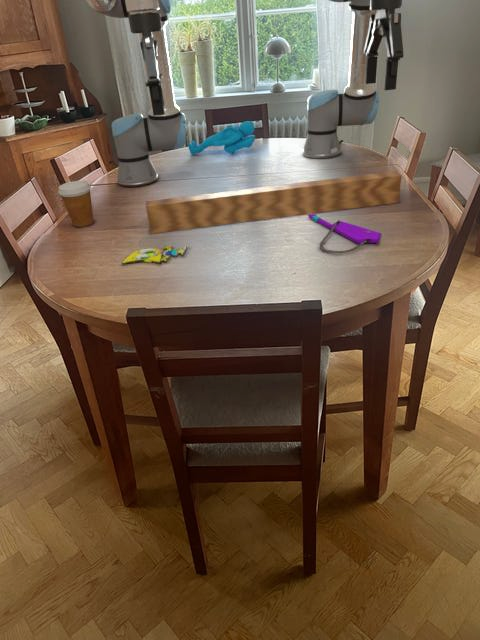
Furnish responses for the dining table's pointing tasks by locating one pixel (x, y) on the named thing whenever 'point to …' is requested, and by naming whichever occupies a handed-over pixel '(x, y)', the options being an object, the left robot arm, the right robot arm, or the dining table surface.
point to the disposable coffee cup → (77, 202)
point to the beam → (273, 202)
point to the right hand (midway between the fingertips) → (379, 86)
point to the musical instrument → (348, 233)
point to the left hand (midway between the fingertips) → (159, 110)
